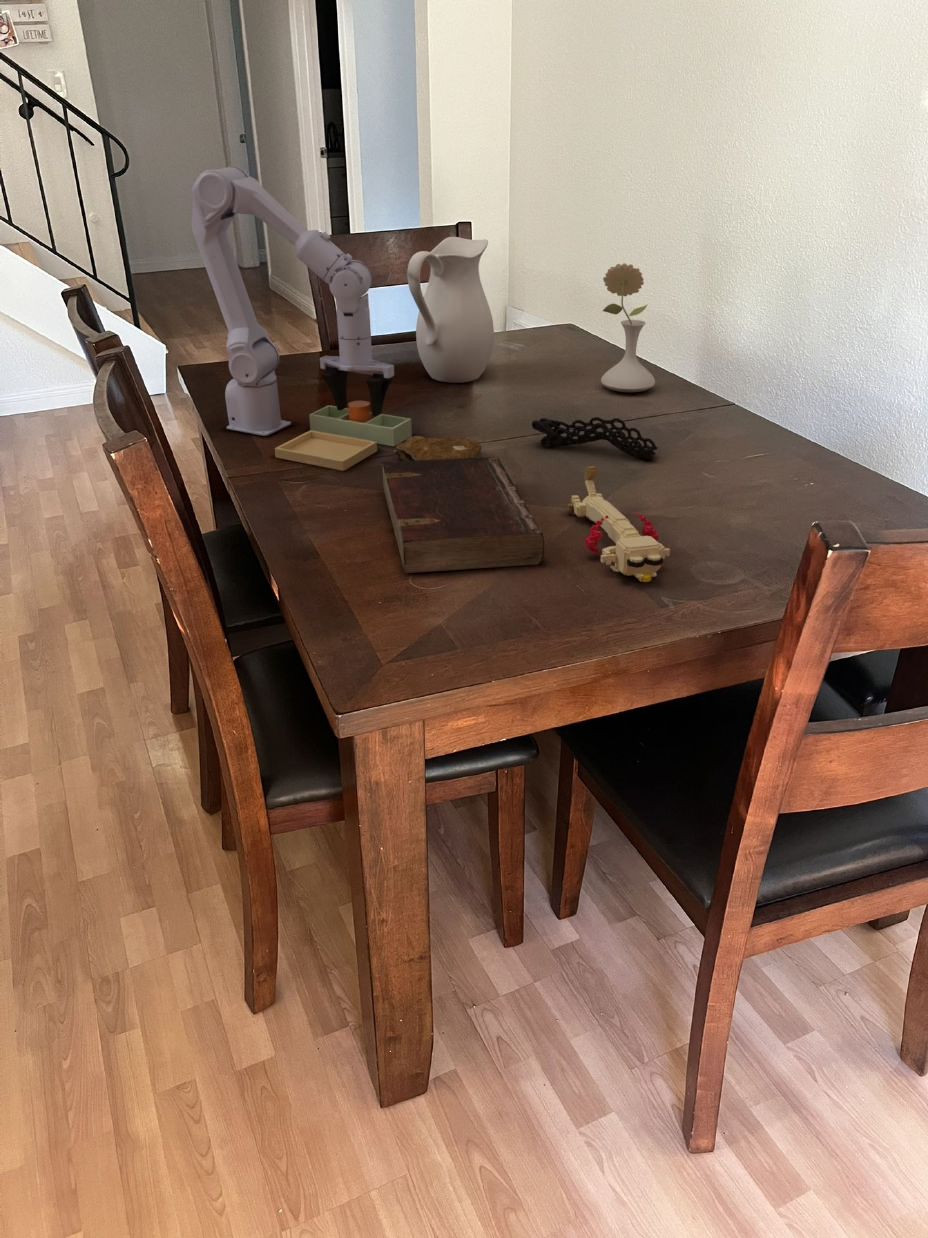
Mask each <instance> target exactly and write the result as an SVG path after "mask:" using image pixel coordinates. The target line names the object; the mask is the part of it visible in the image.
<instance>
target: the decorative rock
mask: <svg viewBox="0 0 928 1238" xmlns="http://www.w3.org/2000/svg"><path fill="white" fill-rule="evenodd" d="M482 448H483V447H482V445H480V444H479V442H478V440H477V439H473V440H471V439H470V438H467V437H457V438H456V437H447V438H445V437H444V438H440V437H427V436H426V437H424V436H421V435H412V436H411V437H408V438H407V439H406V440H404V442H401V443H399V444H398V445H396V446H395V449H394V451H393V452H394V453H395V454H396V455H397V456H398V457H399V459H400V461H415V460H437V459H459V458H481V457H482V452H481V451H482Z"/></svg>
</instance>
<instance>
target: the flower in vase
mask: <svg viewBox="0 0 928 1238" xmlns="http://www.w3.org/2000/svg"><path fill="white" fill-rule="evenodd" d="M602 280H603V282H604V286H605V287H606V290H607V291H608V292H609V293H611V294H612V295H614V294H616V295H617V296H618V297H621V298H620V299H621V301H620V302H621V303H620V304H621V305H619V304H617V303H610V304H608V305H606V306H605V307H604V309H602V312H605V313H609V314H612V315H619V314H620V313H621V312H622V311H623V313H624V314H625V316H626V318H627V319H625V320H621V321H620V324H621V325H622V328H623V330H624V336H625V349H624V355H623V357H622V358H621V360H620V361H619V362H618V363H617V364H615V365H613V366H612V367H611V368H609V369H607V371H606V372H605V373H604V374H603V375H602V376H601V379H600V383H601V384H602V386H604V387H605V388H606V389H609V390H612V391H616V392H620V393H640V392H644V391H648V390H650V389H652V388H653V387H654V386H655V384H656V381H655V378H654V376H653V374H652V373H651V372H650V370H648V369H647V368H646V367H645V366H644V365H642V364H641V362H639V360H638V357H637V347H638V341H639V336H640V333H641V331H642V329H643V327H644V326H645V325H646V322H645V321H644V320H641V319H640V320H639V319H631V318H630V317H632V316H633V317H634V316H637V315H639V314H641V313H642V312H643V311H645V310H646V308H647V307H648V304H646V305H642V306H640V307H636V308H634V309H633V310H632V311H631V312H630V313H629V314H628V312H627V310H626V308H625V307H624V297H627V296H632V295H633V294H638V293H639V292H640V289H642V287H643V286H644V284H645V282H644V278H643V273H642V272H641V269H640V268H638V267H637V268H636V267H634V265H633V264H627V263H626V262H624V263H622V264H620V263H617V264H616V265H615V266H611V267H610V268H608V269H607V271H606V273H605V276H603V277H602Z"/></svg>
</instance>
